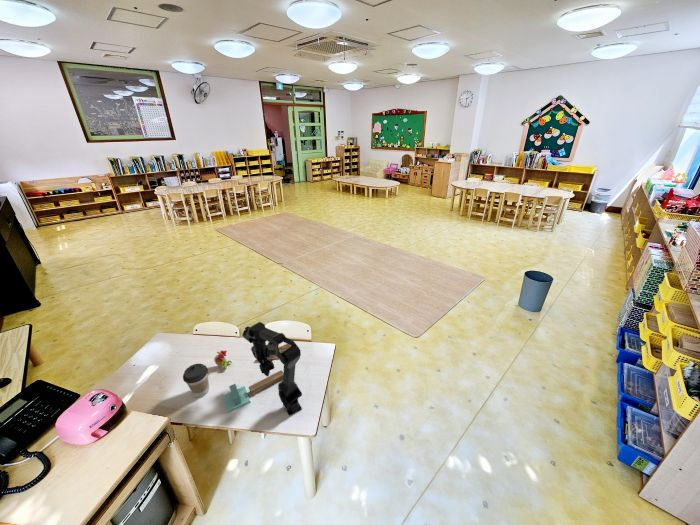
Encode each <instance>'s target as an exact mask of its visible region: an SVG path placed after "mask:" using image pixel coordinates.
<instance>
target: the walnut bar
mask: <svg viewBox="0 0 700 525" xmlns="http://www.w3.org/2000/svg"><path fill="white" fill-rule="evenodd" d="M283 373H284V371H283V370H282V369H280V370H279V371H277V372H275V373H273V374H271V375H269V376H266V377H265V378H263V379H261V380H259V381H257V382H256V383H253V384H251V385H249V386H248V390H249V392H250V395H251V397H254V396H256V395H257V394H260V393H262V392H263V391H265V390H267V389H269V388H271V387H273V386H275V385H277V384H279V383H280V382H282V381H283Z"/></svg>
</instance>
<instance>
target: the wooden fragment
mask: <svg viewBox="0 0 700 525" xmlns="http://www.w3.org/2000/svg"><path fill="white" fill-rule="evenodd" d="M278 347H279V352H280V353H282V352H283V351H285V350H286V349H288V348H289V347H291V345H289V344H287V343H285V344H284V345H281V346H278ZM267 359H268V360H272V361H273V360H277V359H278V360H279V358H278V357H277V356H276V355H270V357H268V358H267ZM257 363H259V362H258V361H257V359H256V358H255V360H254V361H253V364H257Z"/></svg>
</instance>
